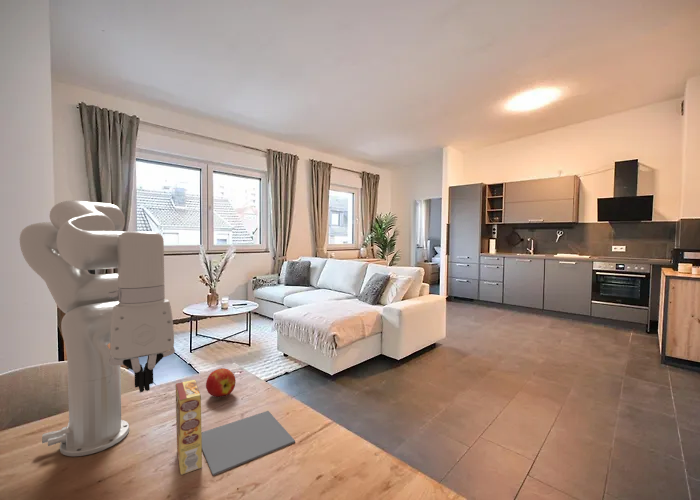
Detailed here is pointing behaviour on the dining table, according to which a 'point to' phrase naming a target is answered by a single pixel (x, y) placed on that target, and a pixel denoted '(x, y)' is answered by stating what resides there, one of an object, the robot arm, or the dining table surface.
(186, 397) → the candy box
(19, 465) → the dining table surface
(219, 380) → the apple
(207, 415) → the dining table surface
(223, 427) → the slate mat
